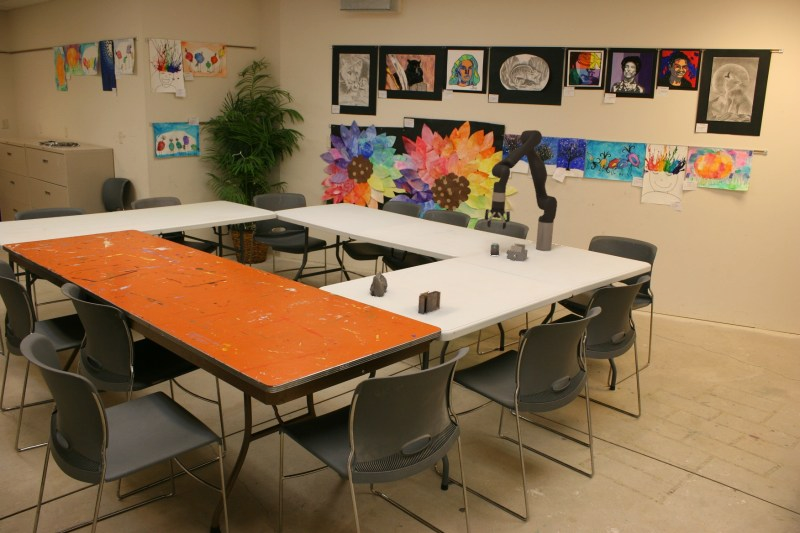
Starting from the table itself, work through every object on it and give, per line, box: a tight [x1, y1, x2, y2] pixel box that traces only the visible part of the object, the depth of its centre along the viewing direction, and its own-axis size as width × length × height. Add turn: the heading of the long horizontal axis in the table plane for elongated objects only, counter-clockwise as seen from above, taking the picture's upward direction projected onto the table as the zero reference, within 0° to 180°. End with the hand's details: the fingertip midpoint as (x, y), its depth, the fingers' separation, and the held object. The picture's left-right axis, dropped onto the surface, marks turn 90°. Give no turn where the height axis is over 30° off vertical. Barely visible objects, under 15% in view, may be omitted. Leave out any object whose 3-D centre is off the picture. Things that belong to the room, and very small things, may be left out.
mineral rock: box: [369, 271, 388, 297], centre depth 300 cm, size 13×11×10 cm
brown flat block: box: [417, 290, 442, 315], centre depth 276 cm, size 11×3×10 cm, turn 141°
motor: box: [506, 243, 528, 262], centre depth 384 cm, size 12×11×8 cm
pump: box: [490, 242, 500, 256], centre depth 391 cm, size 5×5×7 cm
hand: (496, 228), depth 389 cm, fingers open, 8 cm apart
